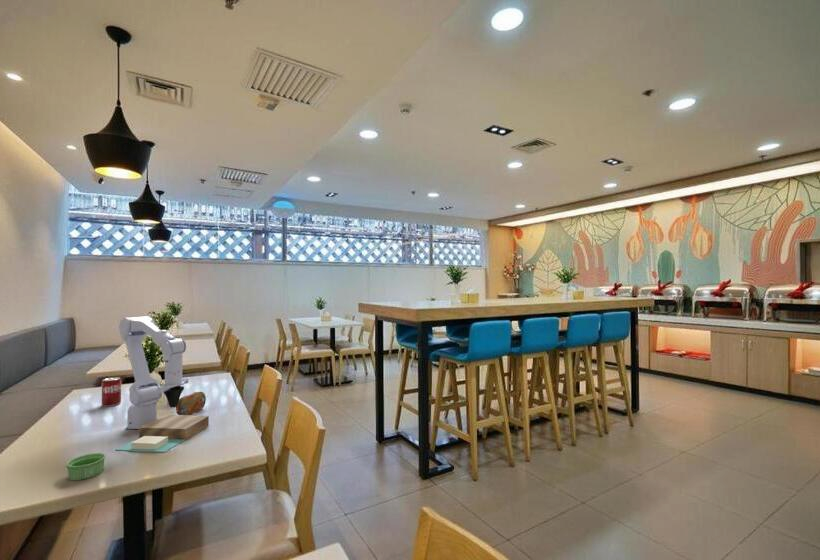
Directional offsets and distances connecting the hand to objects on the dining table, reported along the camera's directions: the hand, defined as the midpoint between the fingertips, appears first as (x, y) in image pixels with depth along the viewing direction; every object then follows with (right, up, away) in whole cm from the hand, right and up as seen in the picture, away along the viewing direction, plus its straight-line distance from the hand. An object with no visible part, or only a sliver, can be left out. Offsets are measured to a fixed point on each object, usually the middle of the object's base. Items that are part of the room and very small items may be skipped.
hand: (173, 406), depth 148 cm
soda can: (-50, -10, +34) cm, 62 cm away
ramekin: (-7, -10, -32) cm, 34 cm away
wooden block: (0, -10, +1) cm, 10 cm away
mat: (-1, -10, -11) cm, 15 cm away
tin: (-6, -10, +23) cm, 26 cm away
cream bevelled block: (-1, -8, -12) cm, 14 cm away
